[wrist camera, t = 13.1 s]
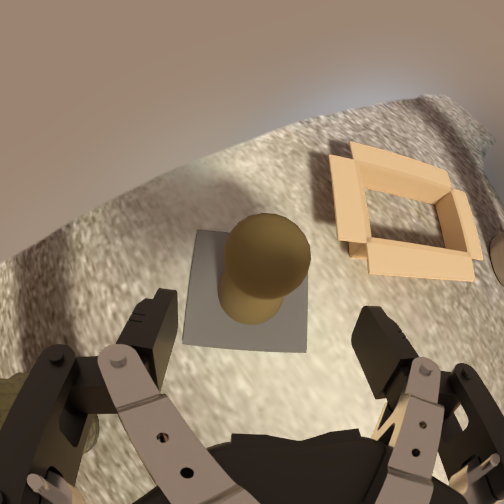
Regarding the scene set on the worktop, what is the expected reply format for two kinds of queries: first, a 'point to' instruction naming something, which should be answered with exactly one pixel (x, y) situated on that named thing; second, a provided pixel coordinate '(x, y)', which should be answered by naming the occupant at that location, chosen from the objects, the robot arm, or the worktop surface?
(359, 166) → the carton
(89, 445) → the thermos
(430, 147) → the worktop surface
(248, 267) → the cork
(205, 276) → the mat
